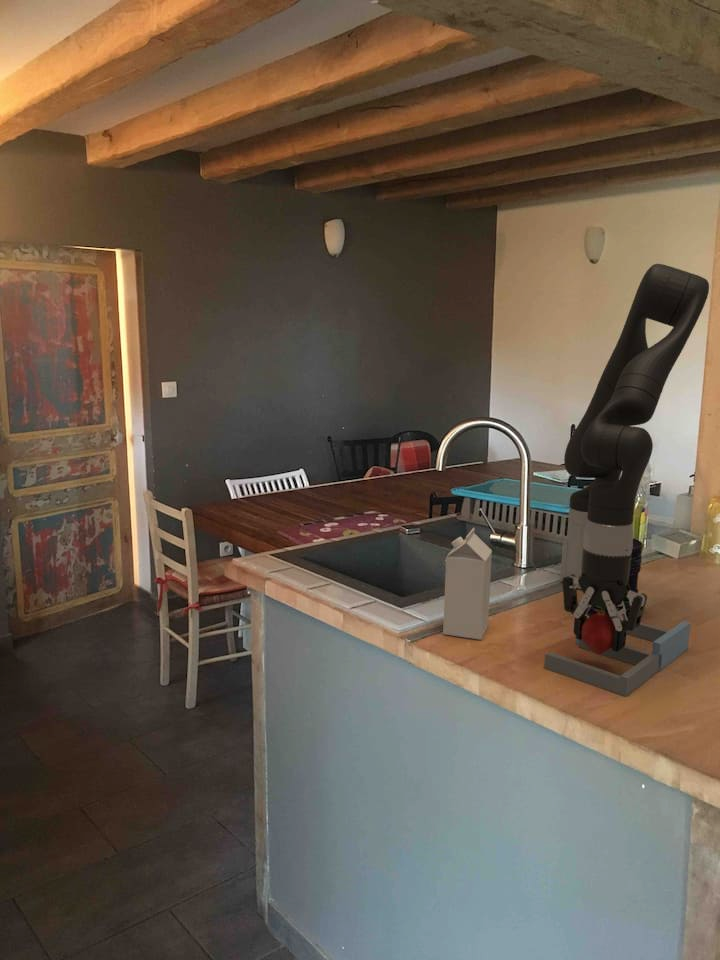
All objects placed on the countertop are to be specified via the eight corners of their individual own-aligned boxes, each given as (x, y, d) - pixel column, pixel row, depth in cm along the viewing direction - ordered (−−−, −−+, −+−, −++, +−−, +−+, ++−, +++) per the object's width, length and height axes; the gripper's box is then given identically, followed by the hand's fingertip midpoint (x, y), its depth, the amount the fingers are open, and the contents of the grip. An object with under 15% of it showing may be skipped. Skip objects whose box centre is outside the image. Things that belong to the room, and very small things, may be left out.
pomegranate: (574, 646, 131) (578, 602, 129) (607, 646, 132) (611, 602, 130) (587, 661, 125) (591, 615, 124) (621, 661, 126) (625, 615, 124)
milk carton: (488, 626, 145) (493, 529, 141) (481, 641, 139) (486, 539, 135) (451, 621, 148) (455, 525, 144) (442, 635, 141) (446, 535, 137)
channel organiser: (537, 665, 129) (539, 637, 128) (606, 625, 147) (608, 600, 146) (625, 696, 119) (628, 666, 118) (687, 649, 137) (690, 622, 136)
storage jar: (639, 610, 155) (646, 539, 152) (631, 626, 147) (638, 551, 144) (589, 601, 160) (595, 531, 157) (578, 616, 151) (584, 543, 148)
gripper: (555, 542, 127) (548, 637, 130) (640, 562, 117) (630, 665, 121) (578, 533, 132) (570, 625, 136) (660, 552, 122) (650, 650, 126)
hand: (598, 643), depth 128 cm, fingers closed on pomegranate, 6 cm apart
